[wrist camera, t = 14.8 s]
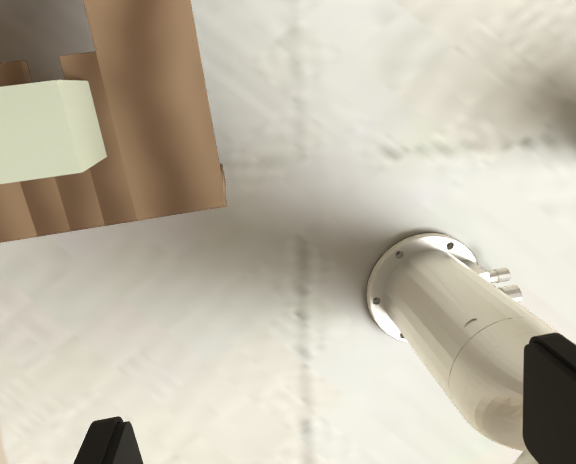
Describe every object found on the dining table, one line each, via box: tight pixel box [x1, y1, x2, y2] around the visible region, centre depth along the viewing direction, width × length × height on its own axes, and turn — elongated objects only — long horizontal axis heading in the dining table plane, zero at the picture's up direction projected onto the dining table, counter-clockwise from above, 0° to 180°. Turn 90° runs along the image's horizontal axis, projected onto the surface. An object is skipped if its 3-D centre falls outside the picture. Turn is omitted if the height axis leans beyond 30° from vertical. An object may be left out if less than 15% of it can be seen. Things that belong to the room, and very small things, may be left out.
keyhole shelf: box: [0, 0, 226, 243], centre depth 34 cm, size 20×22×10 cm
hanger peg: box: [0, 80, 107, 184], centre depth 31 cm, size 5×5×13 cm
